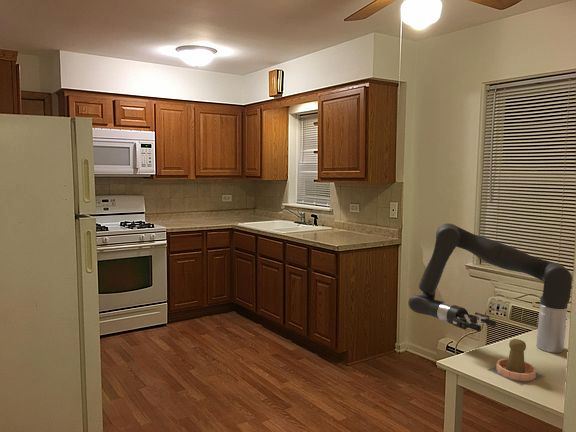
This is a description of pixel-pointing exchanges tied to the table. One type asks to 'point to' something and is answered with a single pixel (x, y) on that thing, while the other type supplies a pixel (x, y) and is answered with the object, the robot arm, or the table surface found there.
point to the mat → (515, 380)
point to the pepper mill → (516, 356)
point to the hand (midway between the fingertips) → (488, 326)
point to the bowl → (527, 376)
